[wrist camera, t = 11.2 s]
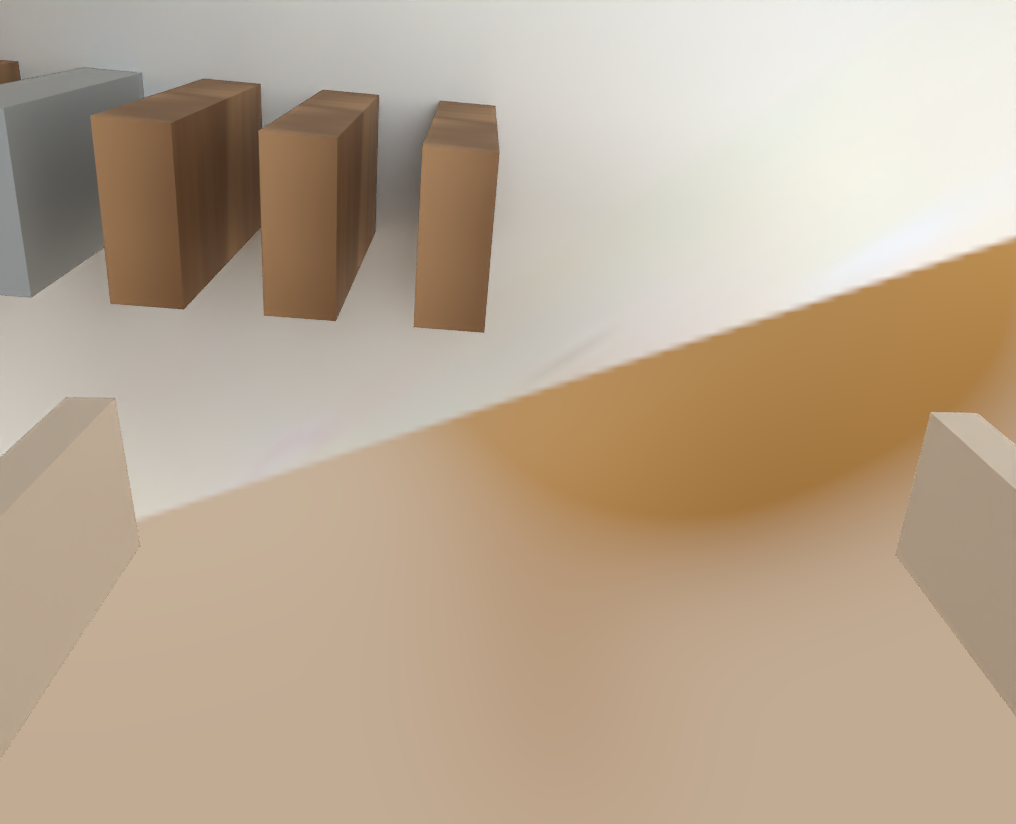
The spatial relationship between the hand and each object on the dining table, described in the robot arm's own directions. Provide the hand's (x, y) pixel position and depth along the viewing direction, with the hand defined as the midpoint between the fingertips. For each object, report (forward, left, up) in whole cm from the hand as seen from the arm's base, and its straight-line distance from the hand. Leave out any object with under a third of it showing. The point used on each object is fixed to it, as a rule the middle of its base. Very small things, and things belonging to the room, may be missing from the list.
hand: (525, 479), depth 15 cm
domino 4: (-2, -1, -21) cm, 21 cm away
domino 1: (-9, -11, -21) cm, 25 cm away
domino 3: (-4, -4, -21) cm, 22 cm away
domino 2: (-7, -7, -21) cm, 23 cm away
